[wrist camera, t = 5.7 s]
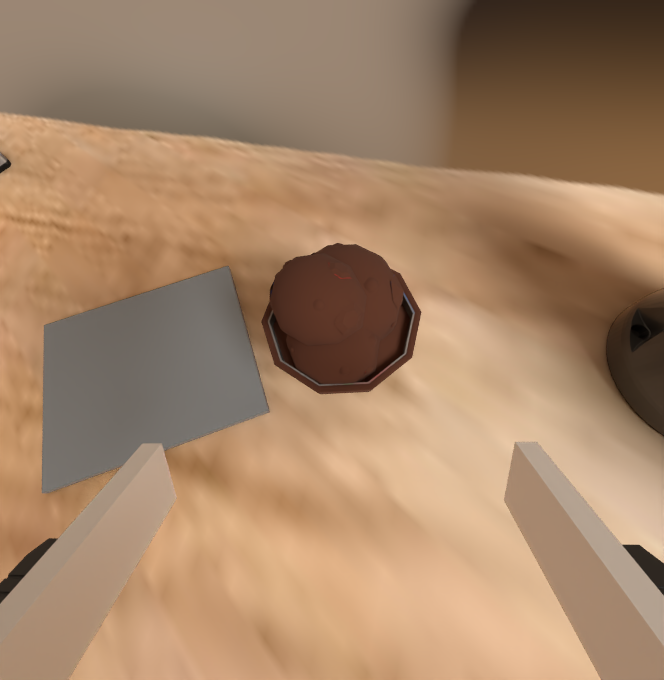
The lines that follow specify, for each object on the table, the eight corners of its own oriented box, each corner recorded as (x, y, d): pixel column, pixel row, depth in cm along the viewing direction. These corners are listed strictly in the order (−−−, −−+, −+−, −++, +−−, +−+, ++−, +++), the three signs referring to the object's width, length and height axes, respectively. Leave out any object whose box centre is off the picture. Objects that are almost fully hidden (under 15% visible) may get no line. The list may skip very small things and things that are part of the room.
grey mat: (229, 269, 37) (228, 265, 36) (269, 411, 30) (268, 410, 30) (48, 327, 35) (44, 325, 35) (47, 493, 29) (41, 493, 28)
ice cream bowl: (364, 444, 29) (374, 406, 15) (264, 377, 32) (196, 293, 18) (423, 348, 32) (475, 244, 18) (327, 295, 35) (310, 172, 21)
